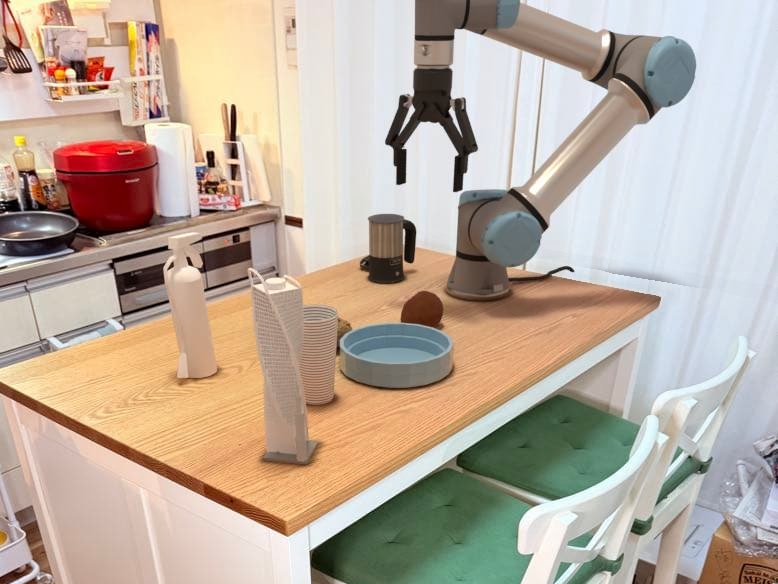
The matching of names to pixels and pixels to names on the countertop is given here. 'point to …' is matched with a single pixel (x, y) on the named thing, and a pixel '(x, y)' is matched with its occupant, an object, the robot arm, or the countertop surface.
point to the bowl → (396, 355)
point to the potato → (423, 309)
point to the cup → (319, 353)
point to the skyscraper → (281, 367)
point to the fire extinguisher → (189, 309)
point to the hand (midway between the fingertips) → (428, 187)
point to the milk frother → (389, 247)
